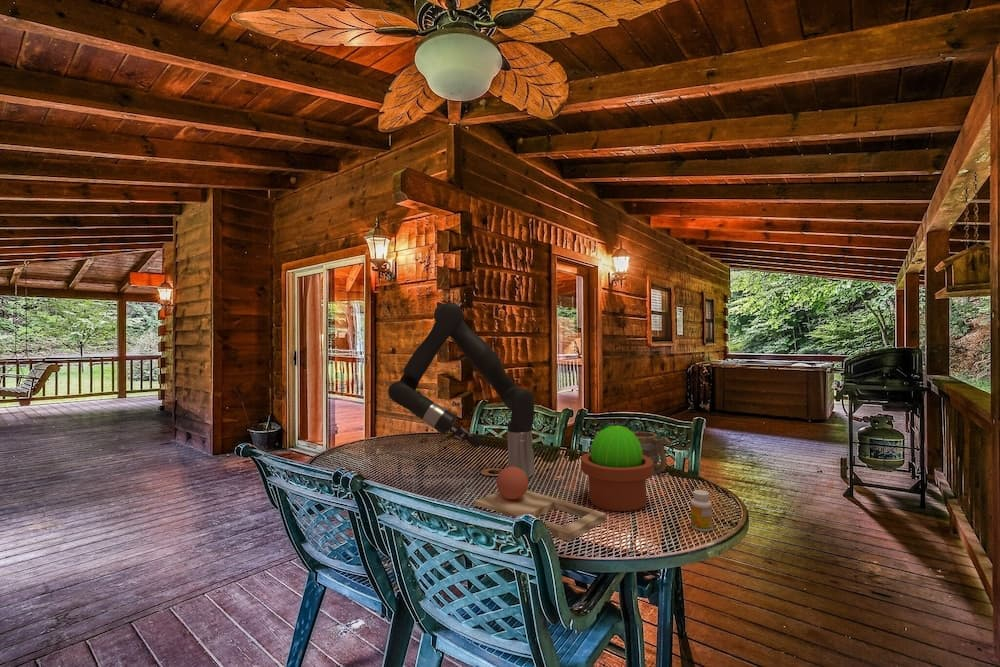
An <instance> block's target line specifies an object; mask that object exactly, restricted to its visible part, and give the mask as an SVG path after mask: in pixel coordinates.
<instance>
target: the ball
mask: <svg viewBox="0 0 1000 667" xmlns="http://www.w3.org/2000/svg"><path fill="white" fill-rule="evenodd" d="M528 479H529V478H527V475H526V474H525V472H524V471H523V470H522V469H520V468H518V467H513V466H512V467H508V466H507V467H504V468H503V469H502V470H501V471H500V472H499V473H498V476H497V477H496V488H497V490H498V491H497V492H499V493H500V494H501V495H502V496H503V497H505V498H506V499H510V500H516V499H519V498H521V497H522V496H523V495H524V494H525V493H526V491H527V490H528V489H529V480H528Z"/></svg>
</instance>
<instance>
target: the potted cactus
mask: <svg viewBox="0 0 1000 667" xmlns="http://www.w3.org/2000/svg"><path fill="white" fill-rule="evenodd" d="M616 424H617V425H615V423H612V424H610V425H609V424H605V425H603V427H601V428H599V429H598V432H597V433H596V435H595V436H594V438H593V439H592V443H591V446H590V452H587V453H583V455H581V457H580V461H581V462H580V470H581V471H582V472H583V473H584V474H585V475H586V476H588V498H589V501H590V502H591V504H592V505H593V506H595V507H597V508H600V509H602V510H606V511H610V512H632V511H637V510H641V509H643V508H644V507H645V506H646V505H647V480H648V479H650V478H652V477H653V476H654V475H653V474H654V463H653V460H652V459H650V458H649V457H647V456H644V455H643V452H642V447H641V444H640V442H639V440H638V438H637V437H636V436H635V434H634V433H633V432H634V431H633V430H630V429H629V428H630V427H628V426H624V425H621V424H620V425H619V424H618V423H616ZM639 438H640V437H639ZM643 449H644V448H643Z"/></svg>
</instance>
